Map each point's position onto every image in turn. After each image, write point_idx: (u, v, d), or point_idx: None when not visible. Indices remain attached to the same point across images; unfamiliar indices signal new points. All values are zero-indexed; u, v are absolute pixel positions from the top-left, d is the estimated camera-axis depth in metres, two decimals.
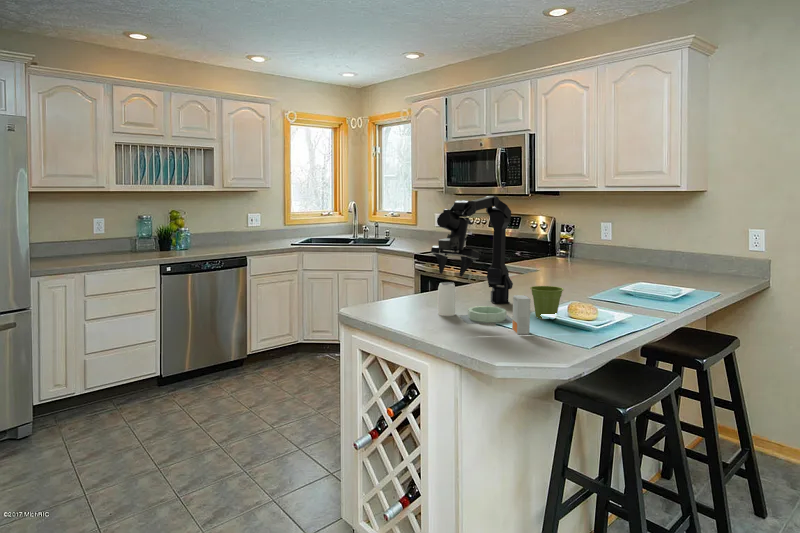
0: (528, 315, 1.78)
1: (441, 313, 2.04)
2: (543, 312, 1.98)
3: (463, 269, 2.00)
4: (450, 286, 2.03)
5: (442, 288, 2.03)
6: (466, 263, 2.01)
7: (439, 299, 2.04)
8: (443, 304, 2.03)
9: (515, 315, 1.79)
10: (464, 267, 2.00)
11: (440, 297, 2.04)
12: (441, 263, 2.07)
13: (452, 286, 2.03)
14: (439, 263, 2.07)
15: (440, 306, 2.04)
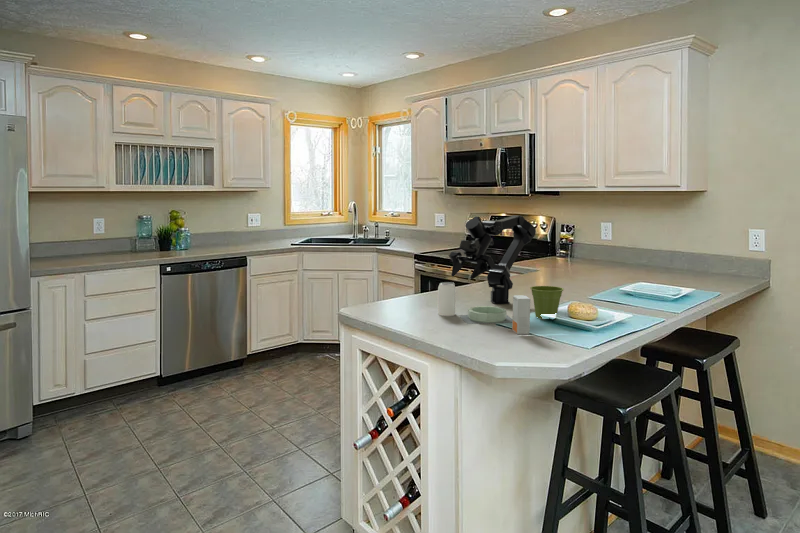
0: (528, 315, 1.78)
1: (441, 313, 2.04)
2: (543, 312, 1.98)
3: (475, 273, 2.08)
4: (450, 286, 2.03)
5: (442, 288, 2.03)
6: (480, 269, 2.09)
7: (439, 299, 2.04)
8: (443, 304, 2.03)
9: (515, 315, 1.79)
10: (477, 271, 2.08)
11: (440, 297, 2.04)
12: (455, 267, 2.15)
13: (452, 286, 2.03)
14: (454, 266, 2.15)
15: (440, 306, 2.04)
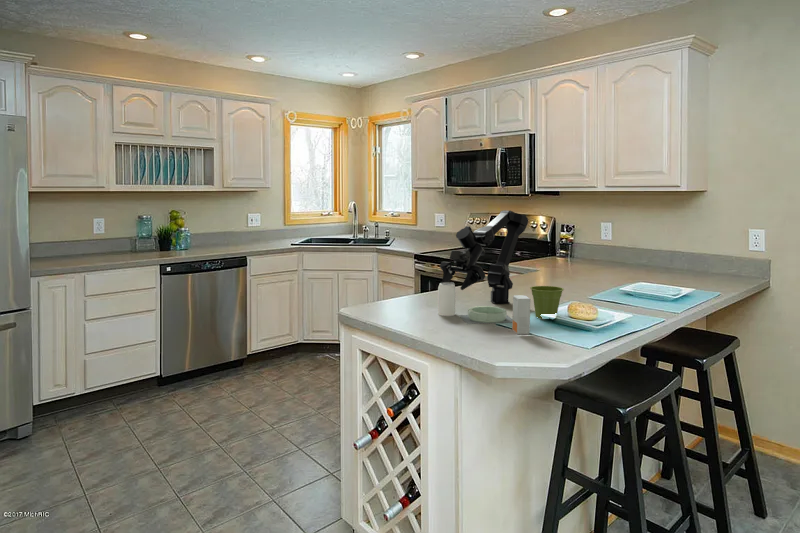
0: (528, 315, 1.78)
1: (441, 313, 2.04)
2: (543, 312, 1.98)
3: (466, 283, 2.04)
4: (450, 286, 2.03)
5: (442, 288, 2.03)
6: (470, 280, 2.05)
7: (439, 299, 2.04)
8: (443, 304, 2.03)
9: (515, 315, 1.79)
10: (467, 282, 2.04)
11: (440, 297, 2.04)
12: (446, 277, 2.12)
13: (452, 286, 2.03)
14: (444, 276, 2.12)
15: (440, 306, 2.04)
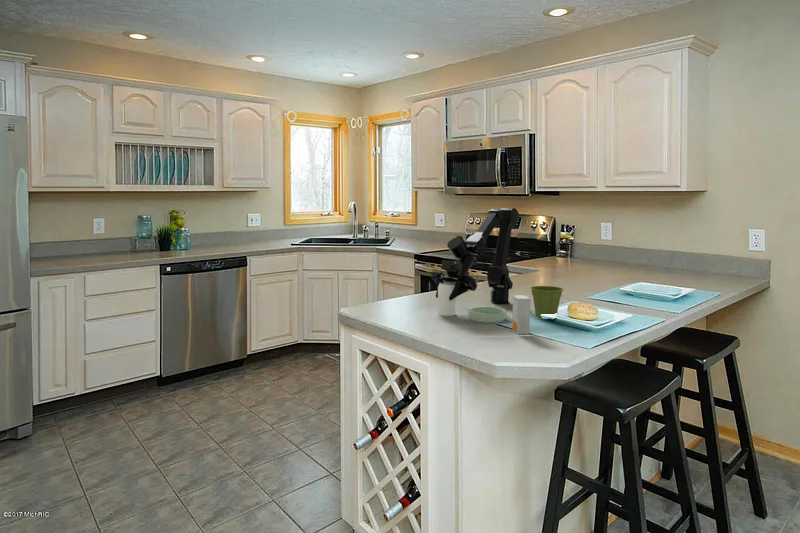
0: (528, 315, 1.78)
1: (441, 313, 2.04)
2: (543, 312, 1.98)
3: (454, 294, 2.02)
4: (450, 286, 2.03)
5: (442, 288, 2.03)
6: (459, 290, 2.03)
7: (439, 299, 2.04)
8: (443, 304, 2.03)
9: (515, 315, 1.79)
10: (456, 292, 2.02)
11: (440, 297, 2.04)
12: None
13: (452, 286, 2.03)
14: None
15: (440, 306, 2.04)
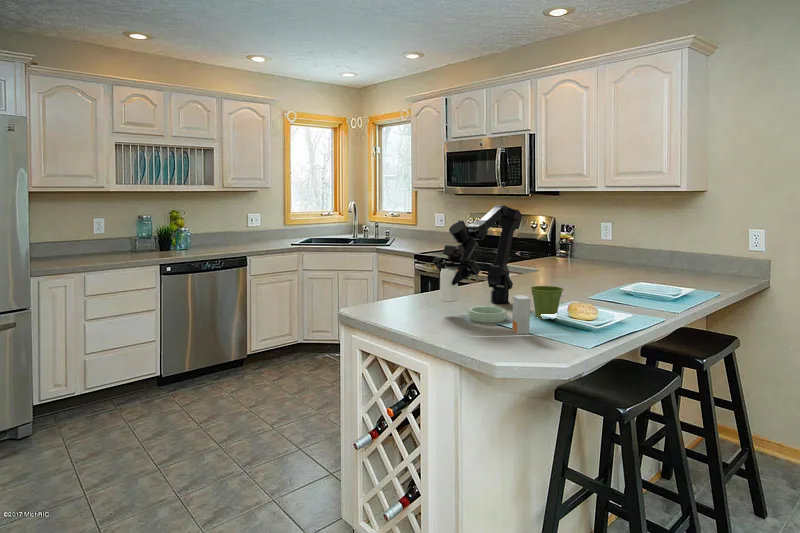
0: (528, 315, 1.78)
1: (443, 298, 2.03)
2: (543, 312, 1.98)
3: (457, 278, 2.01)
4: (452, 271, 2.02)
5: (444, 273, 2.02)
6: (461, 275, 2.02)
7: (441, 284, 2.03)
8: (445, 289, 2.02)
9: (515, 315, 1.79)
10: (458, 277, 2.01)
11: (442, 282, 2.03)
12: None
13: (454, 271, 2.02)
14: None
15: (442, 291, 2.03)
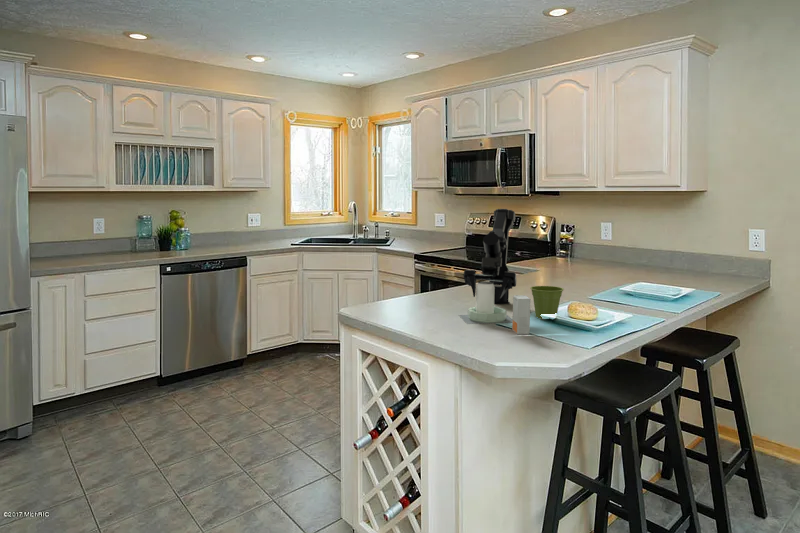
0: (528, 315, 1.78)
1: None
2: (543, 312, 1.98)
3: (503, 291, 1.96)
4: (492, 285, 1.97)
5: (485, 288, 1.96)
6: (505, 287, 1.98)
7: (481, 299, 1.97)
8: (486, 304, 1.97)
9: (515, 315, 1.79)
10: (504, 290, 1.97)
11: (482, 297, 1.97)
12: (475, 286, 2.00)
13: (493, 285, 1.98)
14: (473, 286, 2.00)
15: (482, 306, 1.97)
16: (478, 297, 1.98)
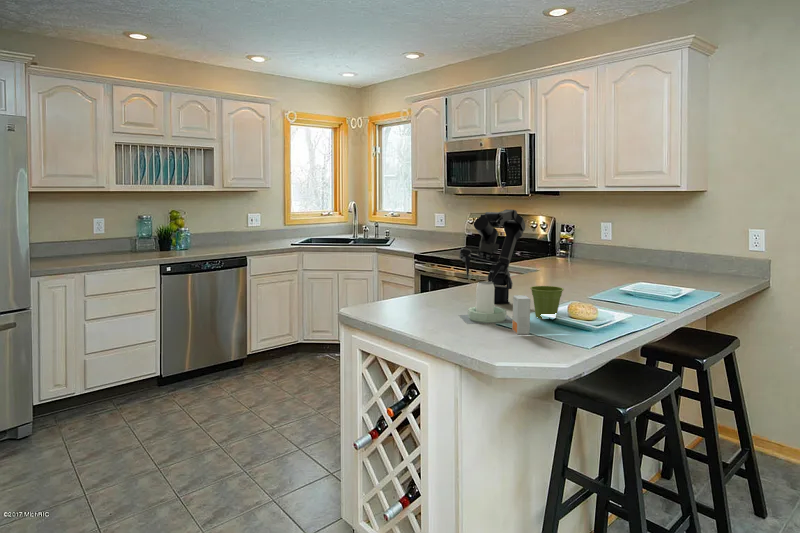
0: (528, 315, 1.78)
1: None
2: (543, 312, 1.98)
3: (495, 275, 2.10)
4: (492, 285, 1.97)
5: (485, 288, 1.96)
6: None
7: (481, 299, 1.97)
8: (486, 304, 1.97)
9: (515, 315, 1.79)
10: (496, 274, 2.10)
11: (482, 297, 1.97)
12: None
13: (493, 285, 1.98)
14: (468, 266, 2.10)
15: (482, 306, 1.97)
16: (478, 297, 1.98)
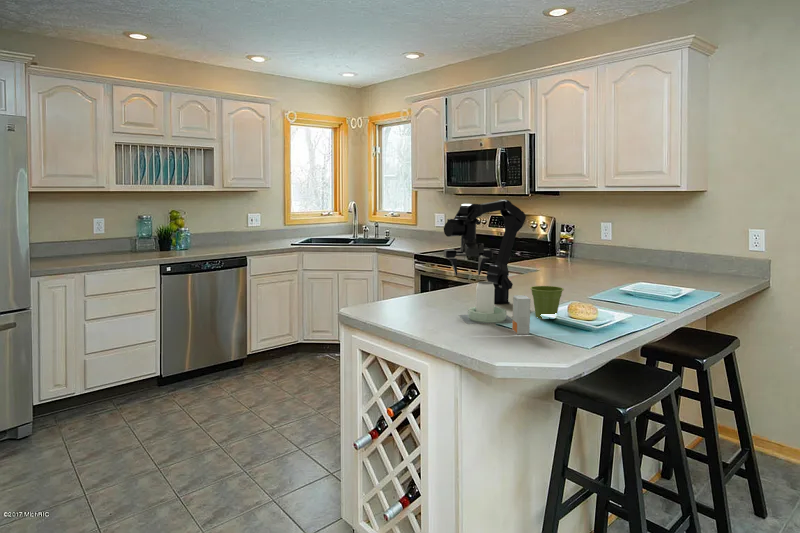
0: (528, 315, 1.78)
1: None
2: (543, 312, 1.98)
3: None
4: (492, 285, 1.97)
5: (485, 288, 1.96)
6: None
7: (481, 299, 1.97)
8: (486, 304, 1.97)
9: (515, 315, 1.79)
10: None
11: (482, 297, 1.97)
12: None
13: (493, 285, 1.98)
14: (455, 266, 2.17)
15: (482, 306, 1.97)
16: (478, 297, 1.98)
